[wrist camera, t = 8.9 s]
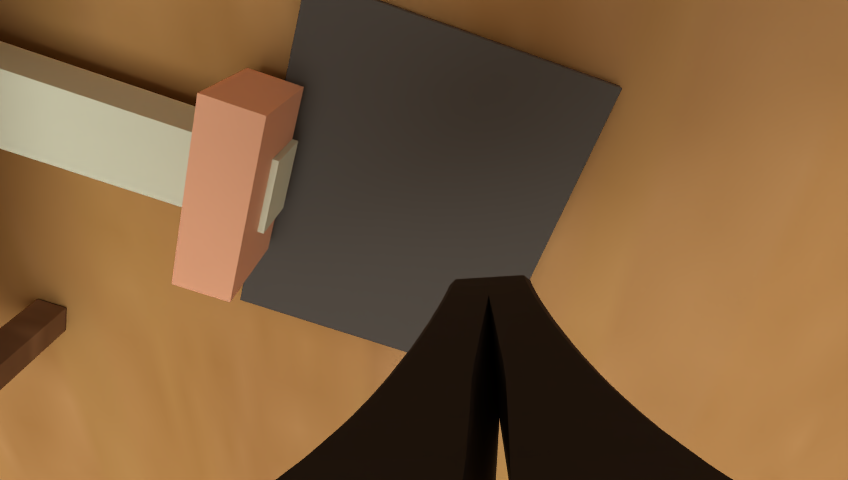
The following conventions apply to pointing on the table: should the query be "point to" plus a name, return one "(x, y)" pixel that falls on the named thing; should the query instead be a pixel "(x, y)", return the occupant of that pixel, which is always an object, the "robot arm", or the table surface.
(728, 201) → the table surface
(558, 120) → the pit
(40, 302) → the arch
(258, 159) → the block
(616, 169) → the table surface
